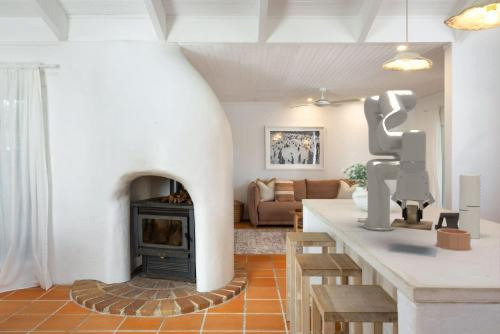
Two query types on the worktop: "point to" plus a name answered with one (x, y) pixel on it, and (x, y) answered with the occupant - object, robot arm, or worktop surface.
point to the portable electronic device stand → (448, 221)
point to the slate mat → (413, 250)
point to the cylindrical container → (469, 204)
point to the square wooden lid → (412, 220)
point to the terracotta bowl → (453, 239)
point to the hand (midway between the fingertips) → (412, 220)
